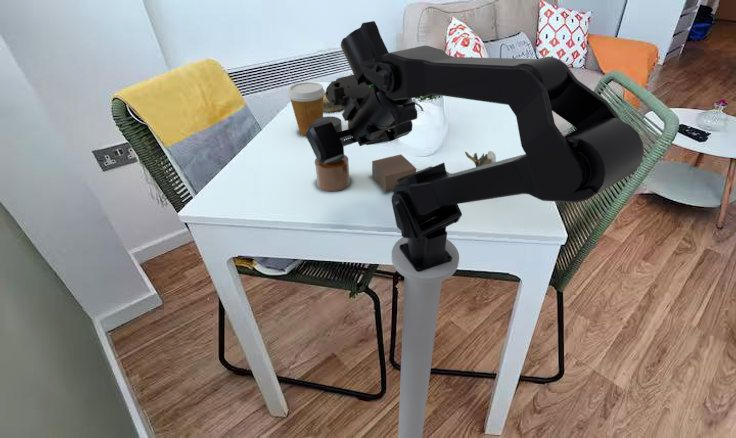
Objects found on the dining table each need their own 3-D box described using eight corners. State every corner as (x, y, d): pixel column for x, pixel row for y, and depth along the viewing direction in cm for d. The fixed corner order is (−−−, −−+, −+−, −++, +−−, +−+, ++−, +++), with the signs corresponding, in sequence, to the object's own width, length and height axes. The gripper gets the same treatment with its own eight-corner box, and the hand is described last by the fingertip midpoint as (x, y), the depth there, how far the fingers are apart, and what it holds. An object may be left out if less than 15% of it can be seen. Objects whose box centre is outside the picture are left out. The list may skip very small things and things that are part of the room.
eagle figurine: (453, 167, 83) (466, 181, 75) (473, 139, 81) (488, 151, 73) (480, 183, 85) (495, 198, 77) (500, 156, 83) (518, 169, 75)
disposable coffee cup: (306, 122, 109) (300, 79, 101) (335, 127, 105) (331, 83, 98) (286, 135, 102) (279, 91, 95) (316, 141, 98) (311, 95, 91)
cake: (328, 117, 113) (325, 99, 109) (310, 108, 119) (306, 92, 115) (354, 105, 117) (352, 88, 114) (334, 98, 123) (332, 81, 120)
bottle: (354, 186, 80) (352, 152, 75) (323, 194, 78) (319, 160, 73) (343, 171, 85) (340, 139, 81) (313, 178, 83) (309, 145, 79)
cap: (349, 155, 78) (347, 120, 74) (330, 165, 75) (327, 129, 70) (331, 147, 81) (327, 114, 77) (312, 157, 78) (307, 122, 73)
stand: (415, 184, 80) (416, 168, 78) (385, 192, 78) (385, 176, 76) (400, 170, 85) (401, 154, 83) (372, 177, 83) (371, 160, 81)
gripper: (404, 52, 62) (368, 100, 76) (302, 74, 54) (282, 124, 68) (433, 112, 61) (391, 149, 75) (335, 144, 53) (309, 179, 67)
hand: (345, 149), depth 71 cm, fingers open, 9 cm apart
